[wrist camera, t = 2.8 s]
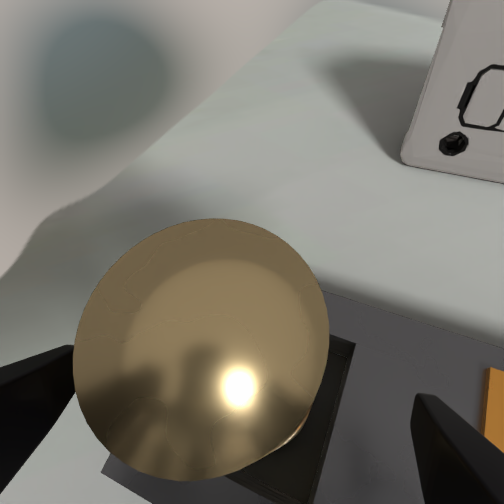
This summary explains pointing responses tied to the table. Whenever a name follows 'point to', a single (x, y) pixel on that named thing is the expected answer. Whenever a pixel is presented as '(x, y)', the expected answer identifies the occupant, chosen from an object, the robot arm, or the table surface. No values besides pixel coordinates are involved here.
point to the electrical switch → (463, 96)
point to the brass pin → (201, 350)
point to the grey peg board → (366, 414)
